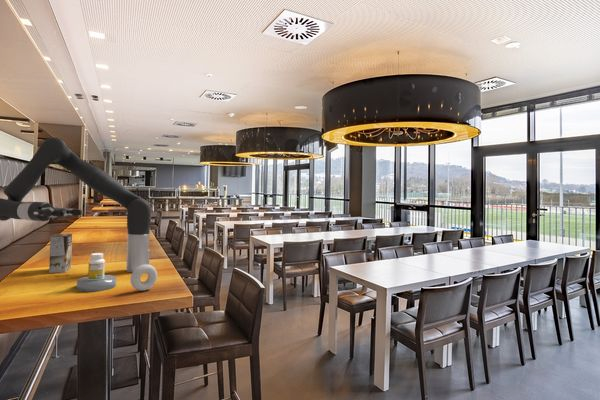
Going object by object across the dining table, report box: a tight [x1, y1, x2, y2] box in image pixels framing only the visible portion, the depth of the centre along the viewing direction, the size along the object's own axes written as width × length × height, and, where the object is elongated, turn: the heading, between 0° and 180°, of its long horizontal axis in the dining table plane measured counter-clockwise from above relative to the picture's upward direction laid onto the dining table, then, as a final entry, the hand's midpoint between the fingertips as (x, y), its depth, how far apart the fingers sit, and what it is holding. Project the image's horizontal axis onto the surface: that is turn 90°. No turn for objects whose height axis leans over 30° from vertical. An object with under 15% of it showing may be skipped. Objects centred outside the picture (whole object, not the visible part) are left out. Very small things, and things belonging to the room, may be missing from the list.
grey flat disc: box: [76, 274, 117, 293], centre depth 132 cm, size 13×13×3 cm
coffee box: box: [48, 233, 73, 274], centre depth 153 cm, size 9×6×16 cm
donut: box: [129, 264, 158, 292], centre depth 130 cm, size 10×3×10 cm, turn 139°
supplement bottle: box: [87, 252, 106, 281], centre depth 132 cm, size 5×5×10 cm
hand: (72, 213), depth 133 cm, fingers open, 8 cm apart
